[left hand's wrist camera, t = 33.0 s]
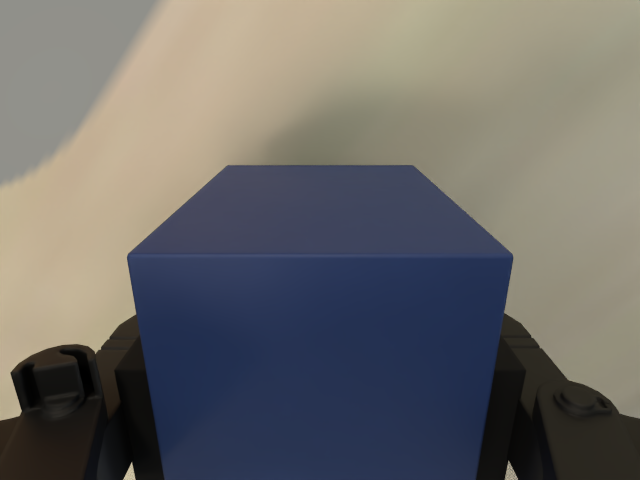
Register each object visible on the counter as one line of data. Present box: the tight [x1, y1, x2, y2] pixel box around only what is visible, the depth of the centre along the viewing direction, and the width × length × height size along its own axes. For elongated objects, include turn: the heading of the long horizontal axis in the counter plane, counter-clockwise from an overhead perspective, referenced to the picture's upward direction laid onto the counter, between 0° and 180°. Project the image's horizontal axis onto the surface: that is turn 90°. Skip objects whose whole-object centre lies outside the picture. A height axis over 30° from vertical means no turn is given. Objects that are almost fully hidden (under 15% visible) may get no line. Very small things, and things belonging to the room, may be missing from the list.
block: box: [127, 165, 513, 480], centre depth 11 cm, size 6×7×8 cm
